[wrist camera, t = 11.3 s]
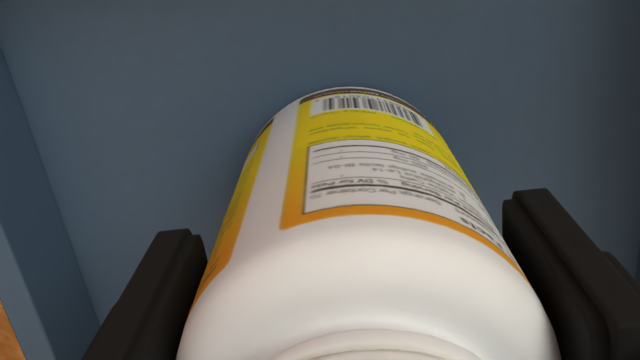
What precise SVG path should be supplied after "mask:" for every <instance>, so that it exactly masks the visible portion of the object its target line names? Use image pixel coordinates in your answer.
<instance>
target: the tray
mask: <svg viewBox="0 0 640 360" xmlns="http://www.w3.org/2000/svg"><path fill="white" fill-rule="evenodd" d="M336 87H363V88H370V89H375V90H379V91H382V92H386V93H388V94H391V95H393V96H395V97H398V98H400V99H402V100H404V101H405V102H407V103H409V104H410V105H412V106H413V107H415V108H416V109H417V110H418V111H420V112H421V113H422V114H423V115H424V116H425V117H426V118H427V119H428V120H429V121H430V122H431V123H432V124H433V125H434V126H435V128H436V129H437V130H438V132H439V133H440V134H441V135H442V137H443V138H444V140H445V142H446V144H447V145H448V147H449V149H450V151H451V152H452V154H453V156H454V157H455V159H456V160H457V162H458V164H459V165H460V167H461V169H462V170H463V172H464V174H465V176H466V177H467V179H468V181H469V182H470V184H471V185H472V187H473V189H474V191H475V192H476V194H477V195H478V197H479V199H480V200H481V202H482V203H483V205H484V207H485V208H486V210H487V212H488V214H489V215H490V217H491V219H492V221H493V222H494V224H495V226H496V228H497V229H498V231H499V233H500V234H501V236H502V204H503V201H504V200H508V199H512V194H513V192H514V191H520V190H529V189H538V188H547V189H548V190H549V191H550V192H551V194H552V195H553V196H554V197H555V198H556V199H557V201H558V202H559V203H560V204H561V205H562V206H563V207H564V209H565V210H566V211H567V212H568V213H569V214H570V216H571V217H572V218H573V219H574V220H575V221H576V222H577V224H578V225H579V226H580V227H581V228H582V229H583V231H584V232H585V233H586V234H587V235H588V236H589V238H590V239H591V240H592V241H593V242H594V243H595V244H596V246H597V247H598V248H599V249H600V250H601V251H608V252H610V253H611V254H612V255H613V256H614V257H615V258H616V259H617V260H618V261H619V262H620V263H621V264H622V266H623V267H624V268H625V269H626V270H627V271H628V272H629V273H630V275H631V276H632V277H633V278H634V279H635V280H636V281H637V282H638V284H639V285H640V0H0V301H1V303H2V305H3V308H4V310H5V312H6V315H7V317H8V319H9V321H10V324H11V326H12V328H13V331H14V333H15V335H16V338H17V340H18V342H19V344H20V347H21V349H22V351H23V354H24V356H25V358H26V360H81V359H82V358H83V356H84V354H85V353H86V351H87V349H88V347H89V346H90V344H91V342H92V341H93V339H94V337H95V336H96V334H97V332H98V330H99V329H100V327H101V325H102V324H103V322H104V320H105V319H106V317H107V315H108V313H109V312H110V310H111V308H112V307H113V306H114V305H115V304H116V303H117V301H118V299H119V298H120V296H121V294H122V293H123V291H124V289H125V287H126V286H127V284H128V282H129V281H130V279H131V277H132V275H133V274H134V272H135V270H136V269H137V267H138V265H139V263H140V262H141V260H142V258H143V256H144V255H145V253H146V251H147V250H148V248H149V246H150V244H151V243H152V241H153V239H154V238H155V236H156V234H157V233H158V232H159V231H167V230H175V229H184V228H188V229H190V231H191V233H192V235H196V234H199V235H200V236H201V238H202V240H203V244H204V248H205V252H206V256H207V260H208V261H209V258H210V255H211V252H212V250H213V248H214V245H215V242H216V239H217V237H218V234H219V231H220V229H221V226H222V223H223V220H224V217H225V215H226V212H227V210H228V207H229V205H230V202H231V199H232V197H233V194H234V191H235V189H236V186H237V183H238V180H239V177H240V174H241V172H242V169H243V166H244V163H245V160H246V158H247V155H248V153H249V151H250V149H251V147H252V145H253V143H254V141H255V139H256V137H257V136H258V134H259V133H260V131H261V130H262V129H263V127H264V126H265V125H266V124H267V123H268V121H269V120H270V119H271V118H272V117H273V116H274V115H276V114H277V113H278V112H279V111H280V110H282V109H283V108H284V107H286V106H287V105H289V104H290V103H292V102H294V101H296V100H297V99H299V98H301V97H304V96H306V95H309V94H311V93H314V92H318V91H321V90H325V89H330V88H336Z"/></svg>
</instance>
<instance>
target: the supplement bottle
mask: <svg viewBox="0 0 640 360" xmlns="http://www.w3.org/2000/svg"><path fill="white" fill-rule="evenodd" d="M176 360H561V354H560V350H559V345H558V342H557V338H556V335H555V332H554V329H553V327H552V325H551V322H550V320H549V318H548V316H547V314H546V312H545V310H544V308H543V306H542V304H541V302H540V300H539V298H538V296H537V295H536V293H535V291H534V290H533V288H532V286H531V285H530V283H529V281H528V280H527V278H526V276H525V275H524V273H523V271H522V270H521V268H520V266H519V265H518V263H517V261H516V260H515V258H514V256H513V255H512V253H511V251H510V250H509V248H508V246H507V245H506V243H505V241H504V240H503V238H502V236H501V234H500V233H499V231H498V229H497V228H496V226H495V224H494V222H493V221H492V219H491V217H490V215H489V214H488V212H487V210H486V208H485V207H484V205H483V203H482V202H481V200H480V199H479V197H478V195H477V194H476V192H475V191H474V189H473V187H472V185H471V184H470V182H469V181H468V179H467V177H466V176H465V174H464V172H463V170H462V169H461V167H460V165H459V164H458V162H457V160H456V159H455V157H454V156H453V154H452V152H451V151H450V149H449V147H448V145H447V144H446V142H445V140H444V138H443V137H442V135H441V134H440V133H439V132H438V130H437V129H436V128H435V126H434V125H433V124H432V123H431V122H430V121H429V120H428V119H427V118H426V117H425V116H424V115H423V114H422V113H421V112H420V111H418V110H417V109H416V108H415V107H413V106H412V105H410V104H409V103H407V102H405V101H404V100H402V99H400V98H398V97H395V96H393V95H391V94H388V93H386V92H382V91H379V90H375V89H370V88H363V87H336V88H330V89H325V90H321V91H318V92H314V93H311V94H309V95H306V96H304V97H301V98H299V99H297V100H296V101H294V102H292V103H290V104H289V105H287V106H286V107H284V108H283V109H282V110H280V111H279V112H278V113H277V114H276V115H274V116H273V117H272V118H271V119H270V120H269V121H268V123H267V124H266V125H265V126H264V127H263V129H262V130H261V131H260V133H259V134H258V136H257V137H256V139H255V141H254V143H253V145H252V147H251V149H250V151H249V153H248V155H247V158H246V160H245V163H244V166H243V169H242V172H241V174H240V177H239V180H238V183H237V186H236V189H235V191H234V194H233V197H232V199H231V202H230V205H229V207H228V210H227V212H226V215H225V217H224V220H223V223H222V226H221V229H220V231H219V234H218V237H217V239H216V242H215V245H214V248H213V250H212V252H211V255H210V258H209V261H208V263H207V266H206V269H205V271H204V274H203V277H202V279H201V281H200V285H199V288H198V290H197V293H196V296H195V299H194V302H193V304H192V307H191V309H190V312H189V314H188V317H187V320H186V323H185V326H184V330H183V333H182V337H181V341H180V344H179V348H178V352H177V356H176Z"/></svg>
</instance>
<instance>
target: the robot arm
mask: <svg viewBox="0 0 640 360" xmlns="http://www.w3.org/2000/svg"><path fill="white" fill-rule="evenodd" d="M502 238H503V240H504V241H505V243H506V245H507V246H508V248H509V250H510V251H511V253H512V255H513V256H514V258H515V260H516V261H517V263H518V265H519V266H520V268H521V270H522V271H523V273H524V275H525V276H526V278H527V280H528V281H529V283H530V285H531V286H532V288H533V290H534V291H535V293H536V295H537V296H538V298H539V300H540V302H541V304H542V306H543V308H544V310H545V312H546V314H547V316H548V318H549V320H550V322H551V325H552V327H553V329H554V332H555V335H556V338H557V342H558V345H559V350H560V354H561V360H640V285H639V284H638V282H637V281H636V280H635V279H634V278H633V277H632V276H631V275H630V273H629V272H628V271H627V270H626V269H625V268H624V267H623V266H622V264H621V263H620V262H619V261H618V260H617V259H616V258H615V257H614V256H613V255H612V254H611V253H610V252H608V251H601V250H600V249H599V248H598V247H597V246H596V244H595V243H594V242H593V241H592V240H591V239H590V238H589V236H588V235H587V234H586V233H585V232H584V231H583V229H582V228H581V227H580V226H579V225H578V224H577V222H576V221H575V220H574V219H573V218H572V217H571V216H570V214H569V213H568V212H567V211H566V210H565V209H564V207H563V206H562V205H561V204H560V203H559V202H558V201H557V199H556V198H555V197H554V196H553V195H552V194H551V192H550V191H549V190H548V189H547V188H538V189H529V190H520V191H514V192H513V194H512V199H508V200H504V201H503V204H502ZM207 263H208V260H207V256H206V252H205V248H204V244H203V240H202V238H201V236H200V235H199V234H196V235H192V233H191V231H190V229H188V228H184V229H175V230H167V231H159V232H158V233H157V234H156V236H155V238H154V239H153V241H152V243H151V244H150V246H149V248H148V250H147V251H146V253H145V255H144V256H143V258H142V260H141V262H140V263H139V265H138V267H137V269H136V270H135V272H134V274H133V275H132V277H131V279H130V281H129V282H128V284H127V286H126V287H125V289H124V291H123V293H122V294H121V296H120V298H119V299H118V301H117V303H116V304H115V305H114V306H113V307H112V308H111V310H110V312H109V313H108V315H107V317H106V319H105V320H104V322H103V324H102V325H101V327H100V329H99V330H98V332H97V334H96V336H95V337H94V339H93V341H92V342H91V344H90V346H89V347H88V349H87V351H86V353H85V354H84V356H83V358H82V359H81V360H176V356H177V352H178V348H179V344H180V341H181V337H182V333H183V330H184V326H185V323H186V320H187V317H188V314H189V312H190V309H191V307H192V304H193V302H194V299H195V296H196V293H197V290H198V288H199V285H200V281H201V279H202V277H203V274H204V271H205V269H206V266H207Z"/></svg>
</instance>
